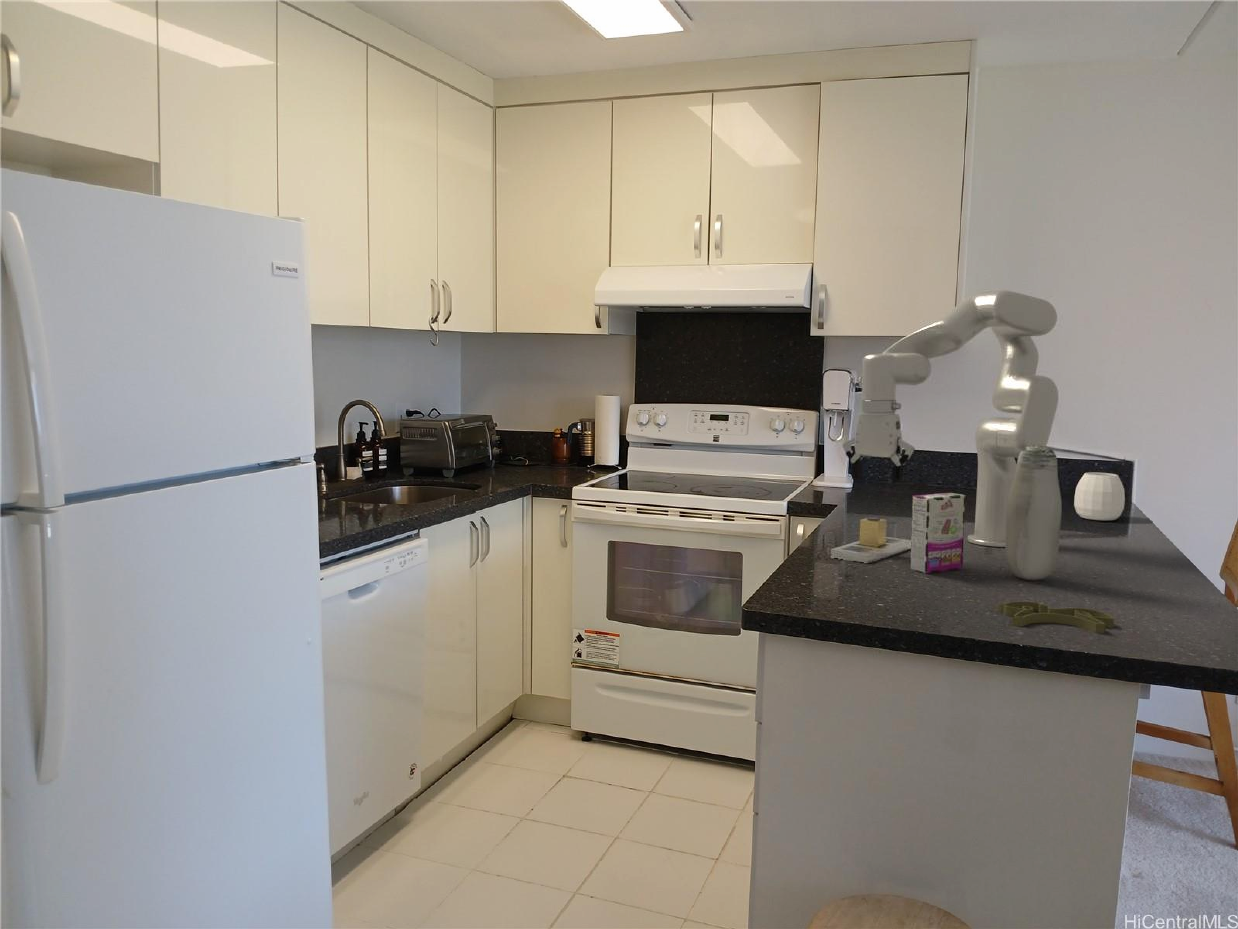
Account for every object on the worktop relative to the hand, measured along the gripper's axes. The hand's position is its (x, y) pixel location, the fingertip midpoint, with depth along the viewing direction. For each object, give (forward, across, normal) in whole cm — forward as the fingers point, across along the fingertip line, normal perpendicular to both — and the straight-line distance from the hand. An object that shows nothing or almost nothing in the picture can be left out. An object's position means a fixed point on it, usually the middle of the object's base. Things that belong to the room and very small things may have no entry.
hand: (877, 480), depth 214 cm
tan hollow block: (+17, 0, +1) cm, 17 cm away
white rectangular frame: (+17, 0, +1) cm, 17 cm away
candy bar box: (+17, -18, +8) cm, 26 cm away
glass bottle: (+18, -36, +3) cm, 40 cm away
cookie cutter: (+18, -48, +34) cm, 62 cm away
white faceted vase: (+20, -26, -94) cm, 100 cm away
